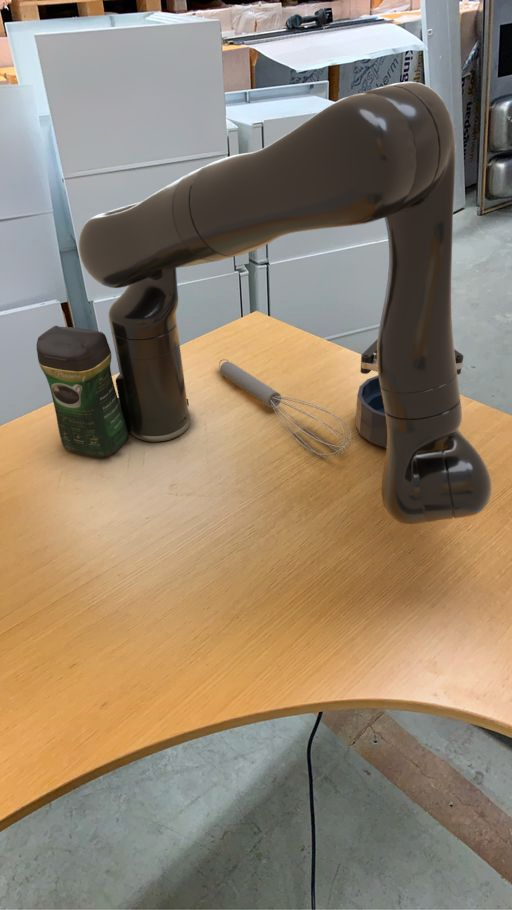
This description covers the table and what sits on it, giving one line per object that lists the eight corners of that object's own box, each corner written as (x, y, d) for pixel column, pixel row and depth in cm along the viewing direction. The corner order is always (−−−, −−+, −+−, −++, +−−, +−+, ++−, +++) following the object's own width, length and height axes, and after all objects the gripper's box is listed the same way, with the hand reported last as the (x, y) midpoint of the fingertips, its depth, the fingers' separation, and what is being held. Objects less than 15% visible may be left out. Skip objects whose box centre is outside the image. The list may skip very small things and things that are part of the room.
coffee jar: (136, 433, 101) (115, 324, 89) (109, 464, 95) (83, 351, 84) (84, 422, 104) (57, 315, 93) (54, 451, 98) (21, 340, 87)
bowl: (351, 447, 96) (352, 413, 92) (361, 402, 105) (363, 369, 101) (436, 457, 93) (442, 422, 90) (439, 409, 102) (444, 376, 99)
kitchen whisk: (234, 364, 116) (231, 332, 112) (359, 459, 94) (362, 423, 90) (204, 375, 114) (201, 342, 110) (326, 475, 91) (327, 439, 87)
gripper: (481, 370, 76) (458, 306, 89) (361, 369, 77) (356, 306, 91) (471, 423, 80) (451, 354, 94) (357, 422, 82) (353, 354, 95)
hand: (404, 331), depth 92 cm, fingers closed
